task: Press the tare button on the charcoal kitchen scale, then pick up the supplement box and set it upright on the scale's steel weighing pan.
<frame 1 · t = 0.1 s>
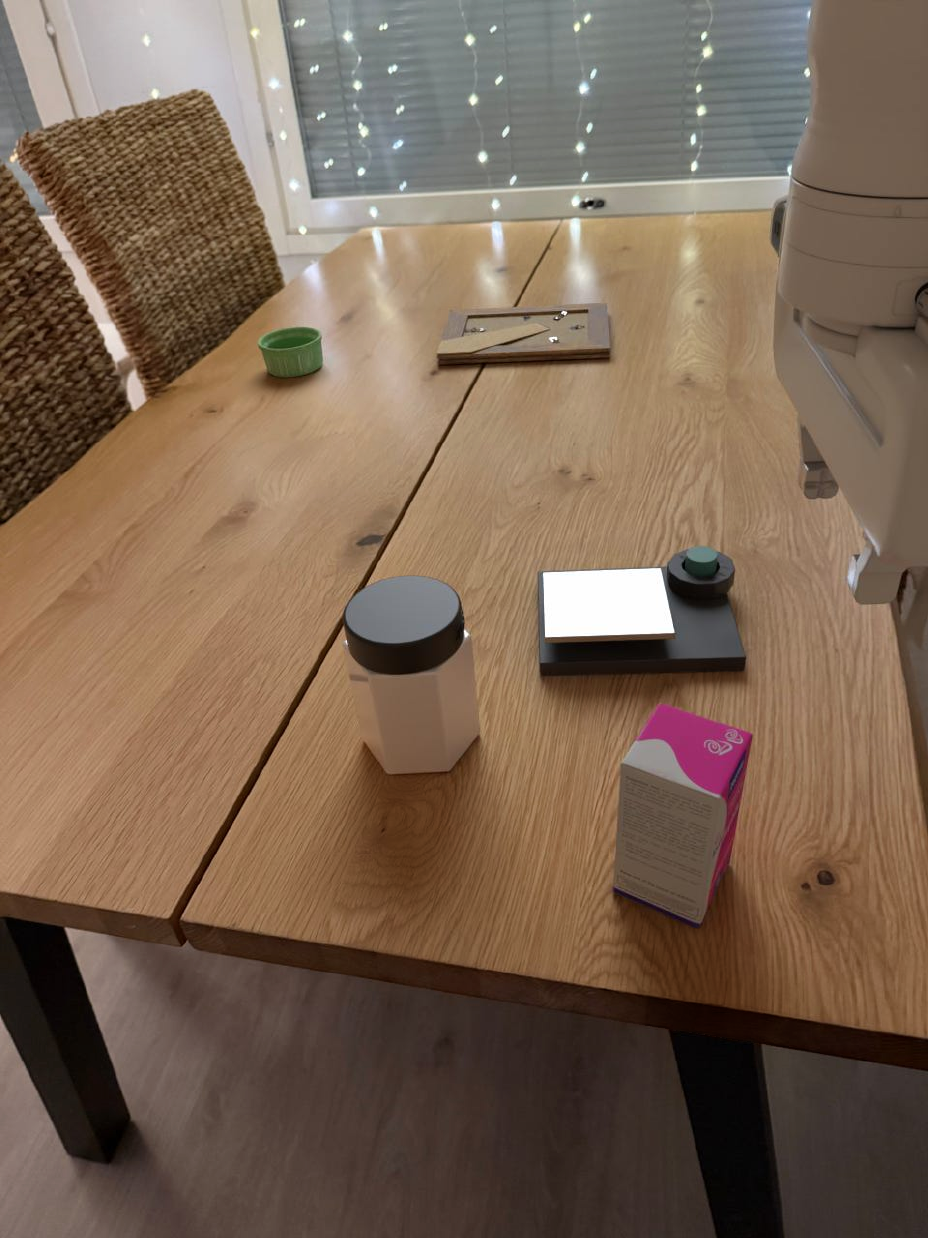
hand: (840, 539, 45), 23 cm above the table, tool pointing down, fingers open, 8 cm apart
supplement box: (673, 879, 57), on the table
scale pan: (605, 635, 77), resting on scale
ramekin: (295, 368, 132), on the table
picture frame: (525, 339, 134), on the table
scale: (633, 624, 78), on the table
tare button: (701, 561, 79), point 3 cm above the table, slide at 0.1 cm
jar: (421, 738, 69), on the table
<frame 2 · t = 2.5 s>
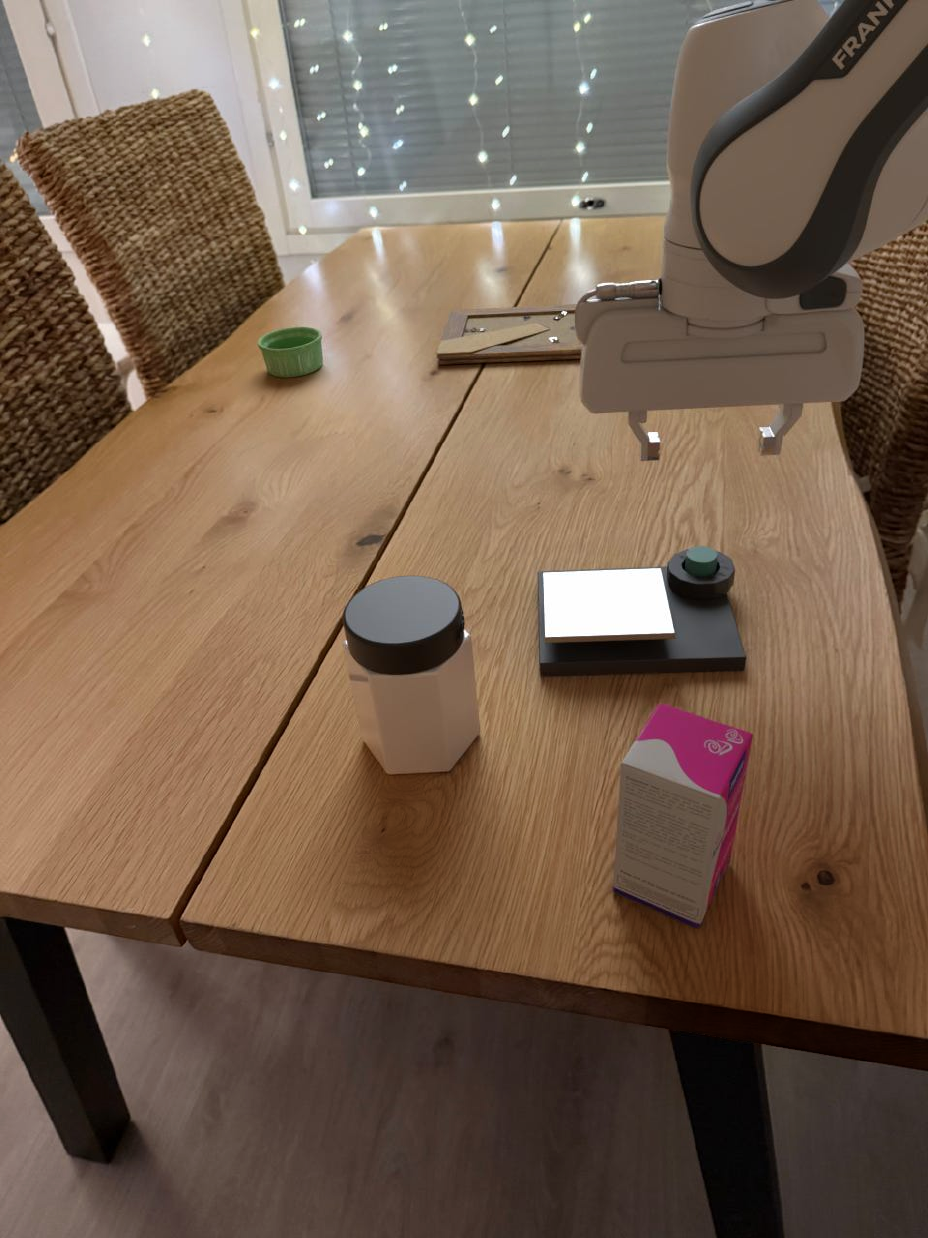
hand: (708, 455, 72), 14 cm above the table, tool pointing down, fingers open, 8 cm apart
nothing on the table moved.
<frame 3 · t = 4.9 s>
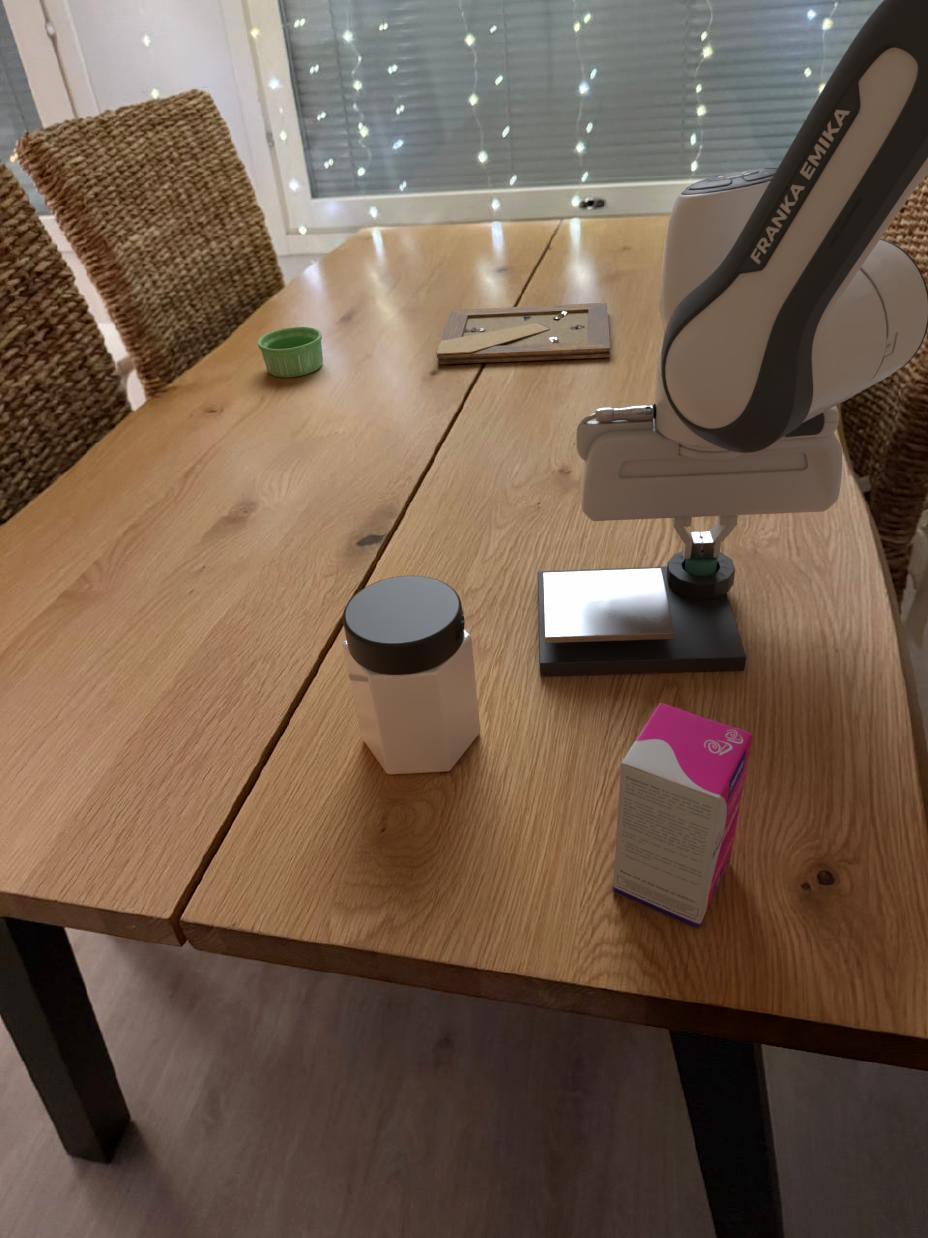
hand: (700, 554, 78), 4 cm above the table, tool pointing down, fingers closed, pressing on tare button
tare button: (701, 562, 79), point 3 cm above the table, slide at 0.0 cm, touching gripper
everything else where it was.
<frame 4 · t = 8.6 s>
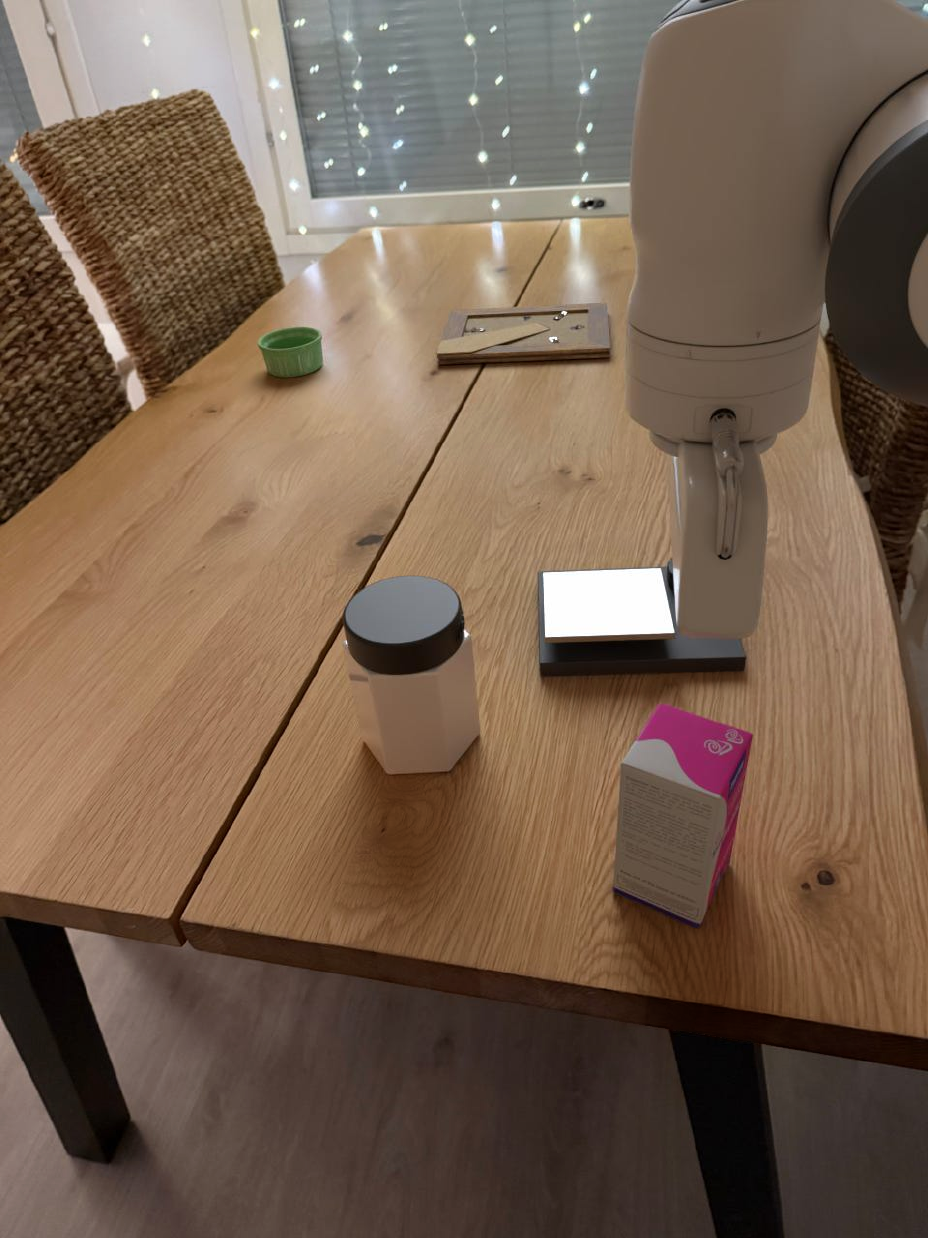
hand: (697, 601, 53), 16 cm above the table, tool pointing down, fingers closed
tare button: (701, 561, 79), point 3 cm above the table, slide at 0.1 cm
everything else where it was.
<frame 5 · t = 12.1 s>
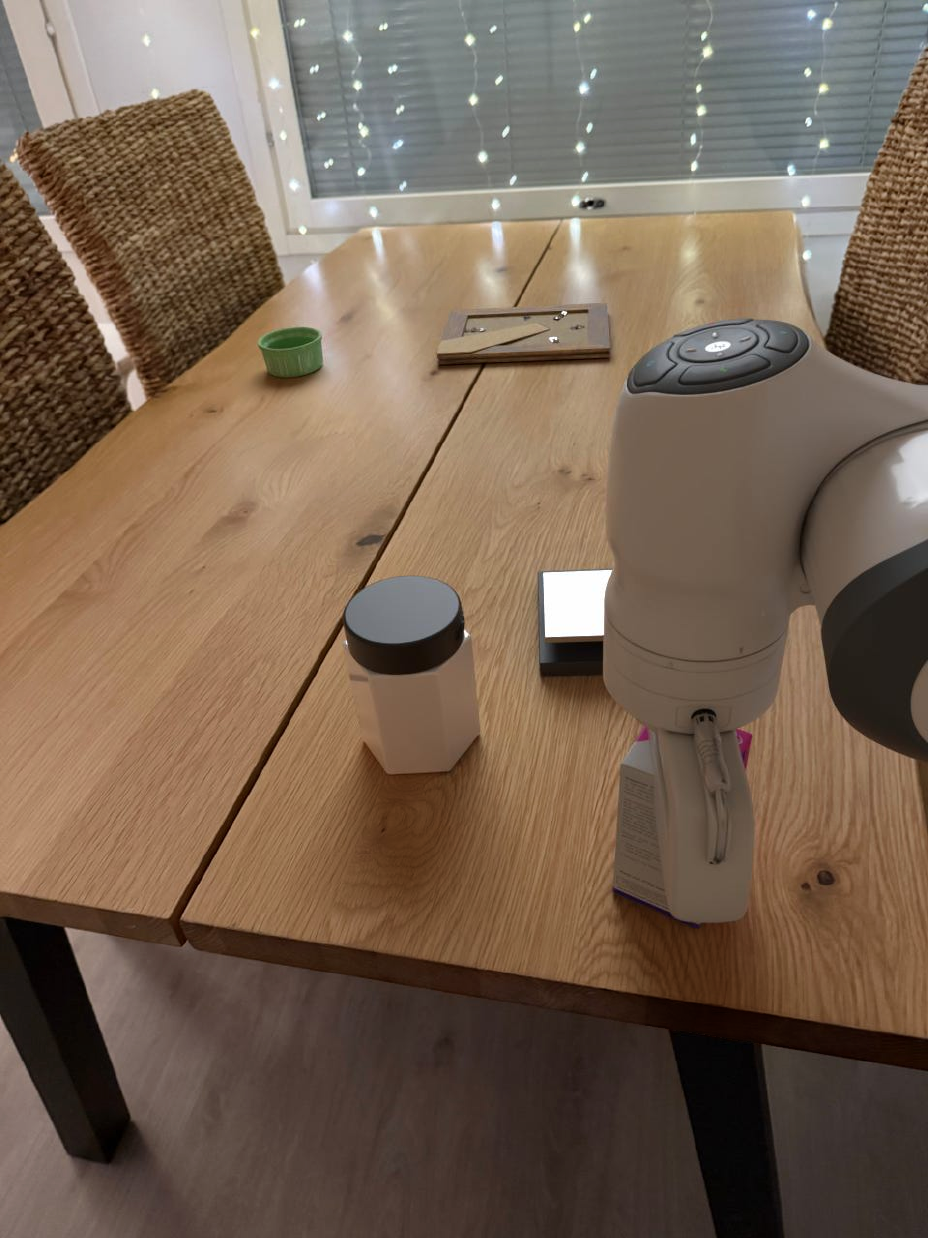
hand: (675, 831, 55), 4 cm above the table, tool pointing down, fingers closed on supplement box, 7 cm apart
supplement box: (672, 879, 57), on the table, touching gripper
everything else where it was.
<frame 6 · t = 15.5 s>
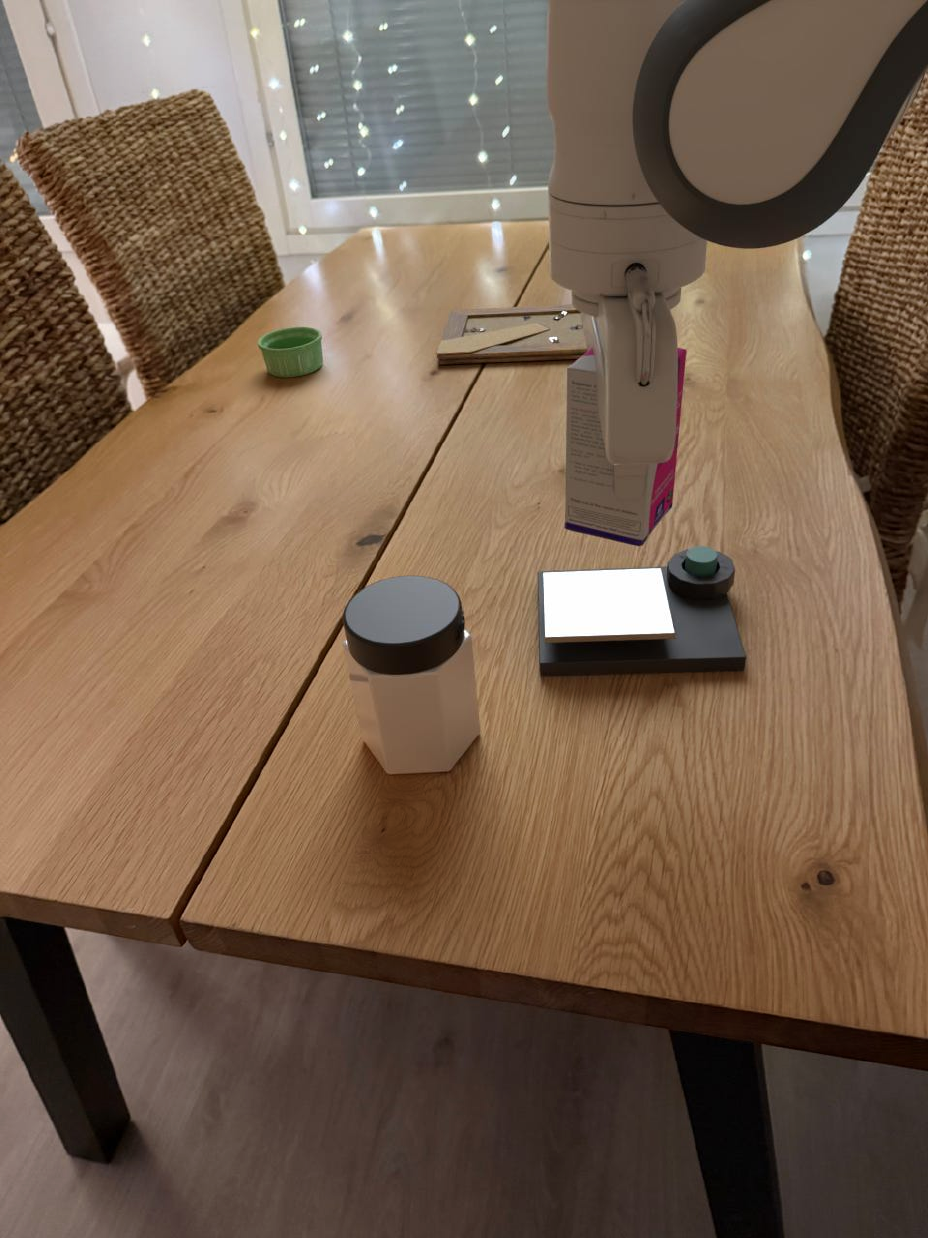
hand: (620, 461, 60), 19 cm above the table, tool pointing down, fingers closed on supplement box, 7 cm apart
supplement box: (620, 521, 63), point 15 cm above the table, touching gripper
everything else where it was.
when the fingers open (8 cm above the table, at t = 19.3 s): supplement box stays where it is, resting on scale pan.
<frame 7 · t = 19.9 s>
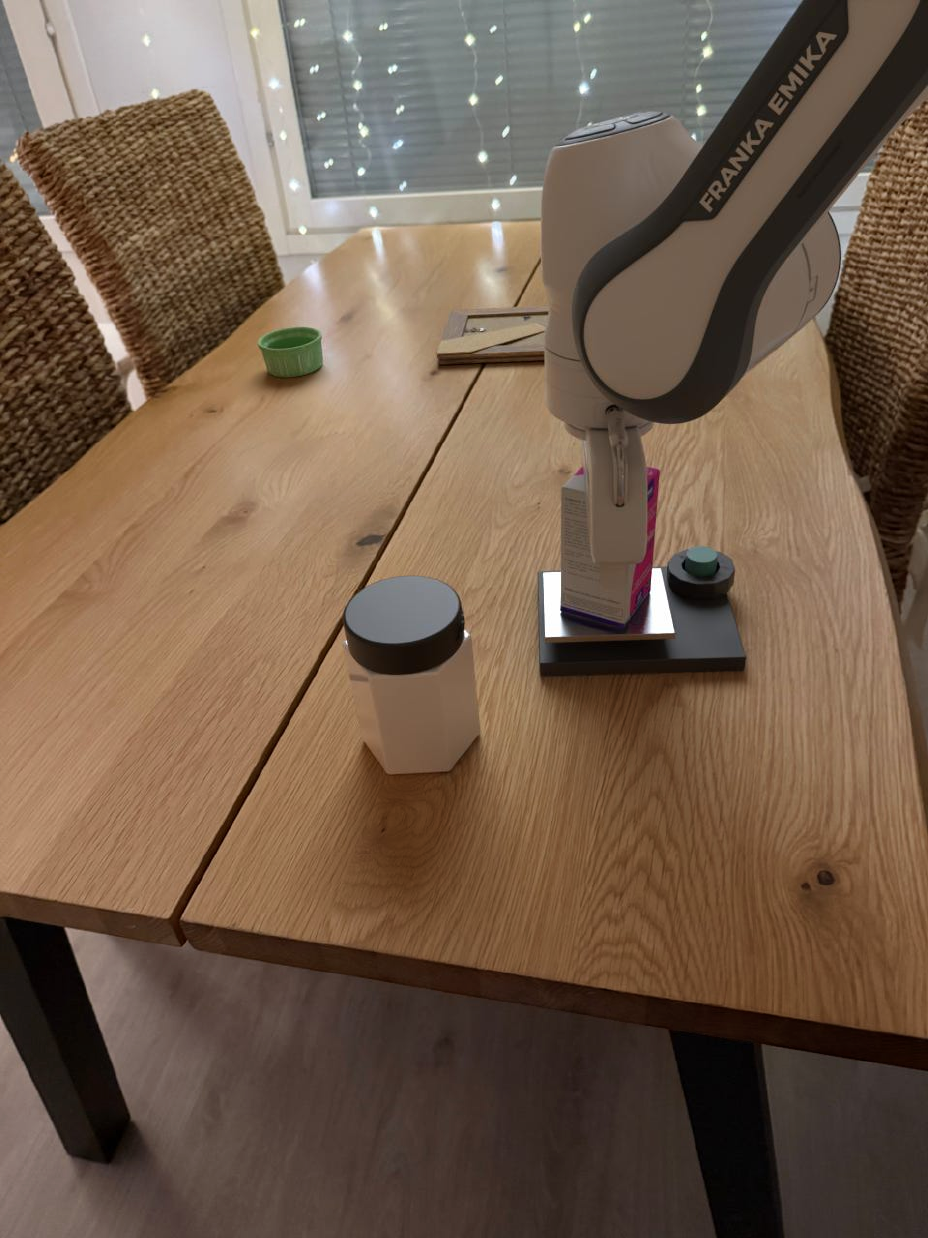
hand: (607, 548, 72), 9 cm above the table, tool pointing down, fingers open, 8 cm apart
supplement box: (607, 604, 75), point 3 cm above the table, touching scale pan
everything else where it was.
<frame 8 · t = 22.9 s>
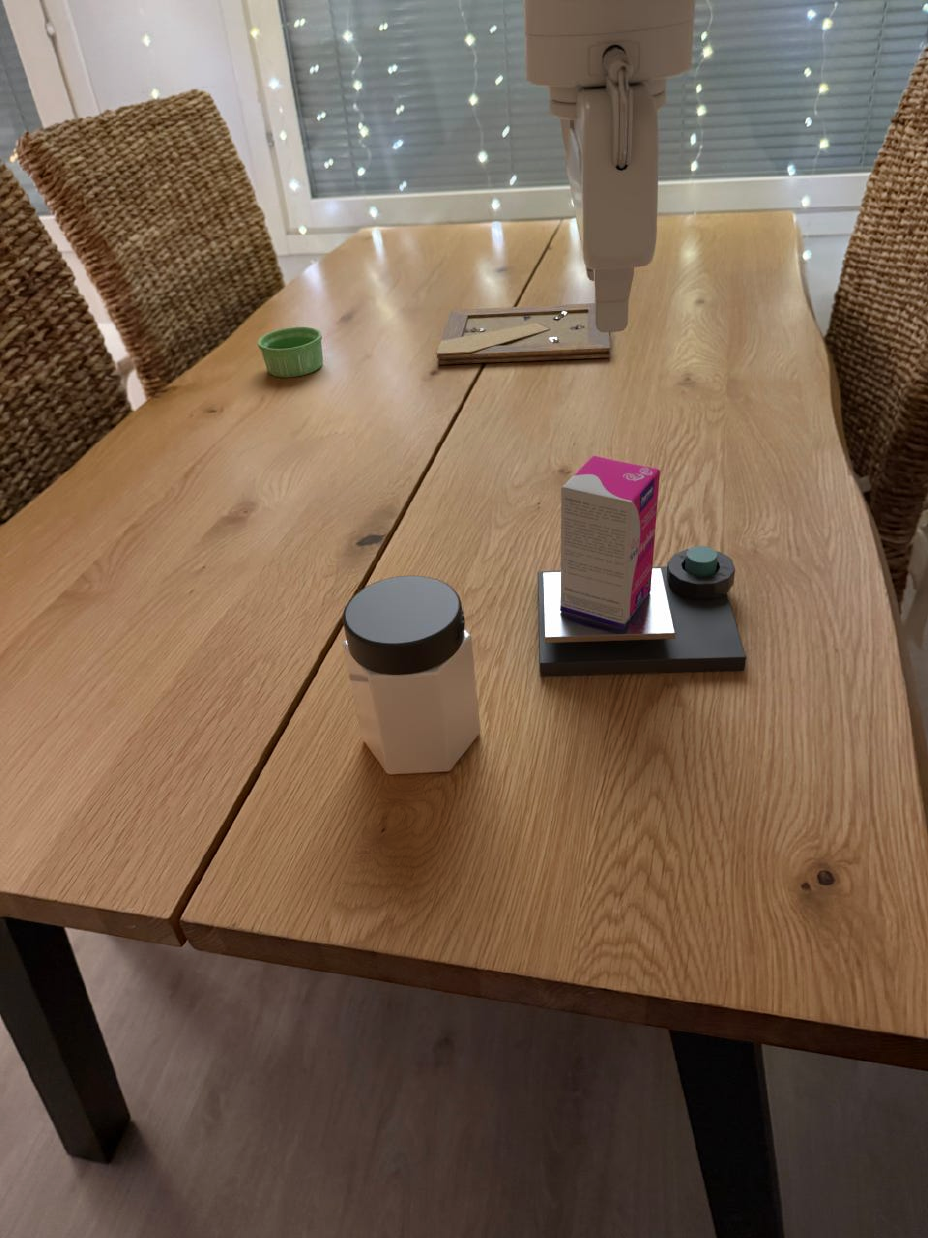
hand: (604, 300, 57), 29 cm above the table, tool pointing down, fingers open, 8 cm apart
nothing on the table moved.
at the end: tare button pushed in 0.9 cm at the most during the clip, back to where it started at the end; supplement box inside the target area on the scale (0.1 cm from its centre), point 3.4 cm above the scale's base; supplement box tilted 0° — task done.
